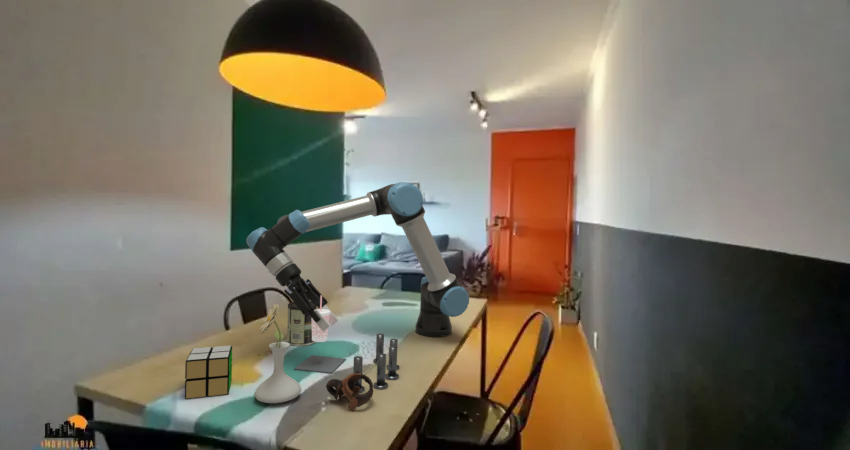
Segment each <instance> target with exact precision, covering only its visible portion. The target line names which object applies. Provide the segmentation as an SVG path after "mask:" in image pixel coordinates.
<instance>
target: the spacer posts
mask: <svg viewBox="0 0 850 450" xmlns="http://www.w3.org/2000/svg"><path fill="white" fill-rule="evenodd" d="M398 342H399V341H398V339H397V338H390V339H389V347H388V364H387V353H384V346H385V334H384V333H376V341H375V343H376V345H375V347H376V348H375V358H374V359H372V363H373V364H375V365H376V382H374V383H373V389H376V390H386V389H387V388H389V384H388V382H386V380H389V381H396V380H398V379H399V378H400V374H398V373H397V371H399V369H400V365H399V364H398V345H399V344H398ZM363 360H364V358H363V356H360V355H358V356H357V355H355V356H353V372H352V374H354V373H360V374H363V363H364V362H363ZM386 370H387V371H386ZM386 372H387V373H386ZM354 385H355V386H357V387H360V390H359V393H358V394H363V393H364V392H365V390H366V386H364V385H363V379H362V378H361V379H359V380H356V382H355V383H354Z"/></svg>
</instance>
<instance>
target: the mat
mask: <svg viewBox="0 0 850 450" xmlns="http://www.w3.org/2000/svg"><path fill="white" fill-rule="evenodd" d="M345 361H347V358H345V357H344V358H343V357H333V356H323V355H315V354H314V355H313V354H312V355H310V356H309V357H307V358H306V359H305V360H304V361H302V362H301V363H299V364H298V365H296V366H295V367H294V371H300V372H301V371H302V372H313V373H321V374H322V373H323V374H331V375H333V373H335V371H336V370H338V369H339V367H340V366H342V365H343V364H344V363H345Z"/></svg>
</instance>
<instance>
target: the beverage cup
mask: <svg viewBox="0 0 850 450" xmlns="http://www.w3.org/2000/svg"><path fill="white" fill-rule="evenodd" d="M322 296H323V294H321V296H320V309H319V308H316V309H317V310H318V311H319V312H320V314H321V315H322V316H323V317H324V318H325V320H326V321H327V322H328V323H329V315H330V312H331V311H332V310H331V309H330V310H331V311H330V310H327V309H322ZM314 311H315V310H314ZM311 320H312V341H314V342H315V343H323V342H326V341H328V333H329V327H328V328H327V329H326V330H325V331H324V332H323V331H322V330H321V328H320V327H319V326H318V325H317V324H316V322H315V321H314V320H313V319H312V318H311ZM329 324H330V323H329Z"/></svg>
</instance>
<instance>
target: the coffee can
mask: <svg viewBox="0 0 850 450" xmlns="http://www.w3.org/2000/svg"><path fill="white" fill-rule="evenodd" d="M309 301H310V300H309ZM310 302H311V301H310ZM311 304H312V306H313V307H314V309H315V310H316V309H318V307H317V306H316V305H315V304H314V303H312V302H311ZM286 336H287V339H286V342H287V343H289V344H290V345H289V346H292V347H307V346H310V345H311V346H312V345H313V344H315V343H316V342H314V341H312V320H311V316H310V315H309V316H308V317H306V316H305V315H303V314H302V312H301V311H300V310H299V308H298V307H297V306H296V304H295V303H294V302H293V301H292V302H289V303H287V335H286Z"/></svg>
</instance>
